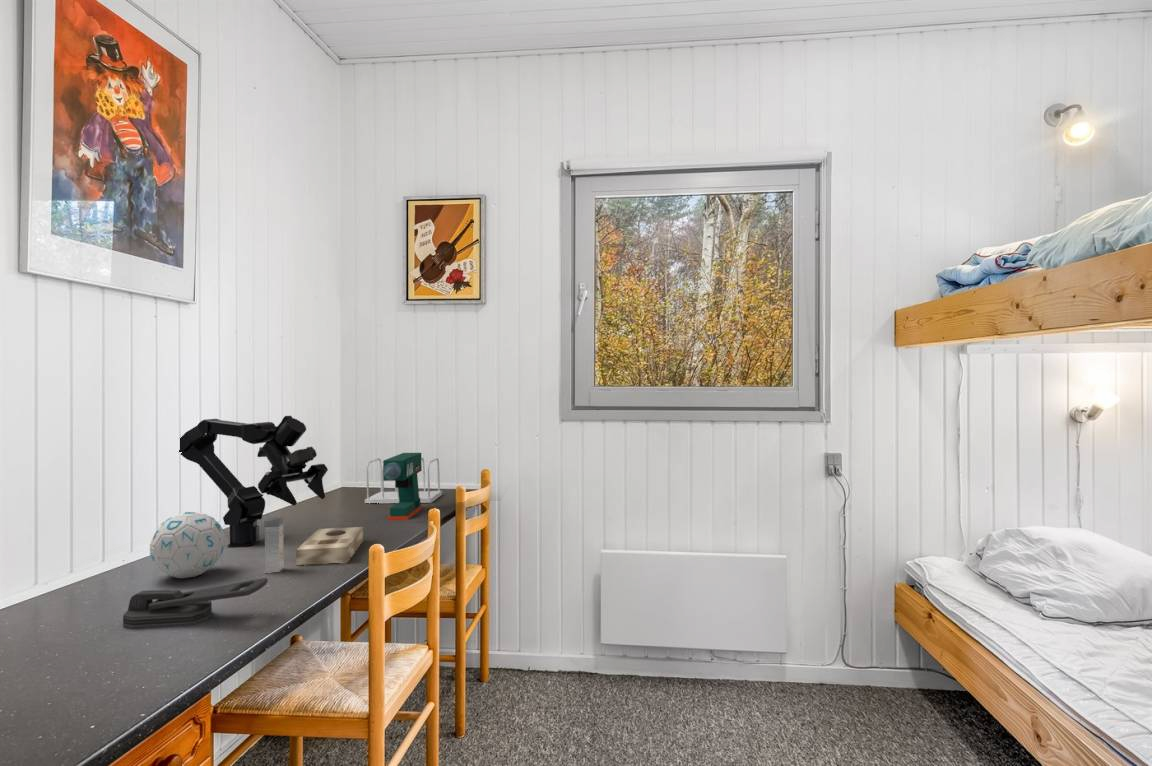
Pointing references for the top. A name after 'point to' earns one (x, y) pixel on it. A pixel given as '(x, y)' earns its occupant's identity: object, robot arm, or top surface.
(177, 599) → the zipper pull
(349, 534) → the bore board
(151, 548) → the puzzle ball
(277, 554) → the square bit
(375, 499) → the file sorter
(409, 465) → the power tool
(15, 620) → the top surface
